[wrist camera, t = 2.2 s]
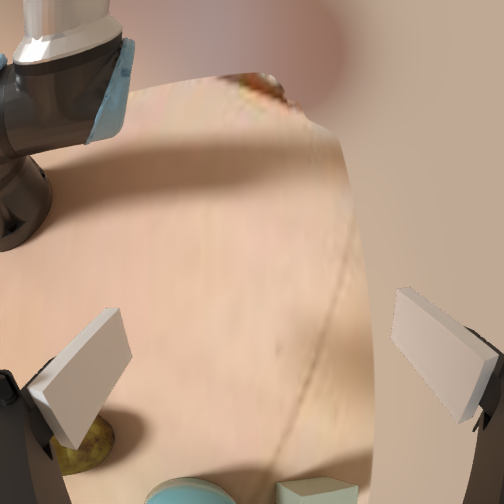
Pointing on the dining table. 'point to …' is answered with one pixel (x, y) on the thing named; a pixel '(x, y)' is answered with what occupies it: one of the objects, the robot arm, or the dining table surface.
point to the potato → (86, 449)
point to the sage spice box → (316, 491)
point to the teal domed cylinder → (188, 493)
